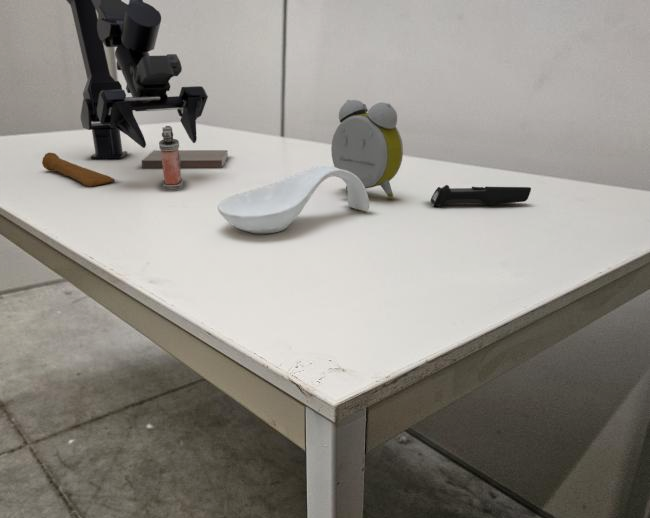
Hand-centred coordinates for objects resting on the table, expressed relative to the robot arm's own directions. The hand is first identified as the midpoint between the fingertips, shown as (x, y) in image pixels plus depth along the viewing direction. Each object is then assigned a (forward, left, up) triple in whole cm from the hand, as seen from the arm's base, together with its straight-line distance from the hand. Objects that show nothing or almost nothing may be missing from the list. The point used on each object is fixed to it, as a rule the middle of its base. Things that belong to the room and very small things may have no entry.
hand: (170, 143), depth 106 cm
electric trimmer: (+14, +51, -7) cm, 53 cm away
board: (-23, -1, -7) cm, 24 cm away
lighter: (-1, 0, -7) cm, 8 cm away
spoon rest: (+24, +22, -7) cm, 33 cm away
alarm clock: (+8, +33, -7) cm, 35 cm away
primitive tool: (-8, -19, -7) cm, 22 cm away
